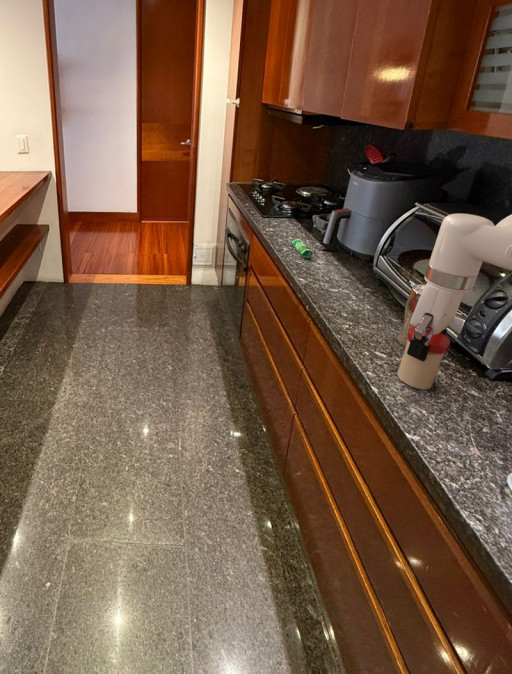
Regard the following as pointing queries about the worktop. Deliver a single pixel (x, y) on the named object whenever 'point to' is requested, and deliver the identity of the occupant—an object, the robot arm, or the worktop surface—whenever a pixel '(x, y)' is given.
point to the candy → (301, 248)
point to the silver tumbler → (410, 312)
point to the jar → (419, 369)
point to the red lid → (434, 341)
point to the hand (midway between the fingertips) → (424, 349)
